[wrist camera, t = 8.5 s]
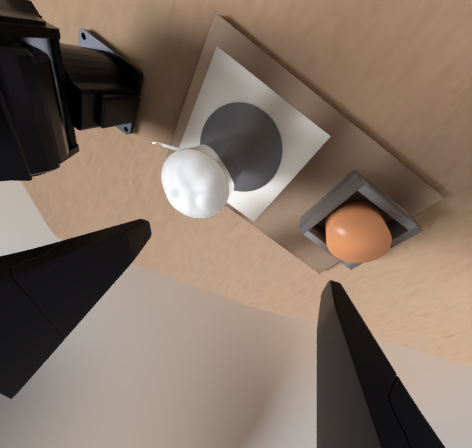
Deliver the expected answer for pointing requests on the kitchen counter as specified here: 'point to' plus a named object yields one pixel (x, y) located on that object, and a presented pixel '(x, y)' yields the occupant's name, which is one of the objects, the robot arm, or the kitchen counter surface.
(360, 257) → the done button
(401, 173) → the board
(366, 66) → the kitchen counter surface
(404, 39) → the kitchen counter surface
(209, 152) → the milkshake
